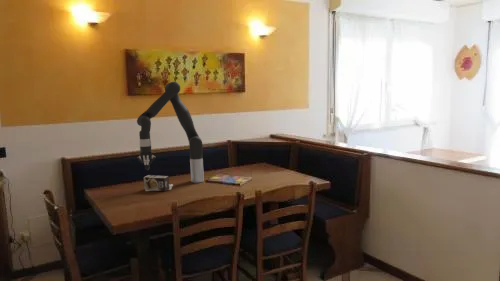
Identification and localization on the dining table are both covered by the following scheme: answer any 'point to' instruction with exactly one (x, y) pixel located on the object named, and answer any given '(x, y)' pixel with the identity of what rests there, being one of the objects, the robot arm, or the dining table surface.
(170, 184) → the mat
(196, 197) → the dining table surface
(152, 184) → the coffee box
